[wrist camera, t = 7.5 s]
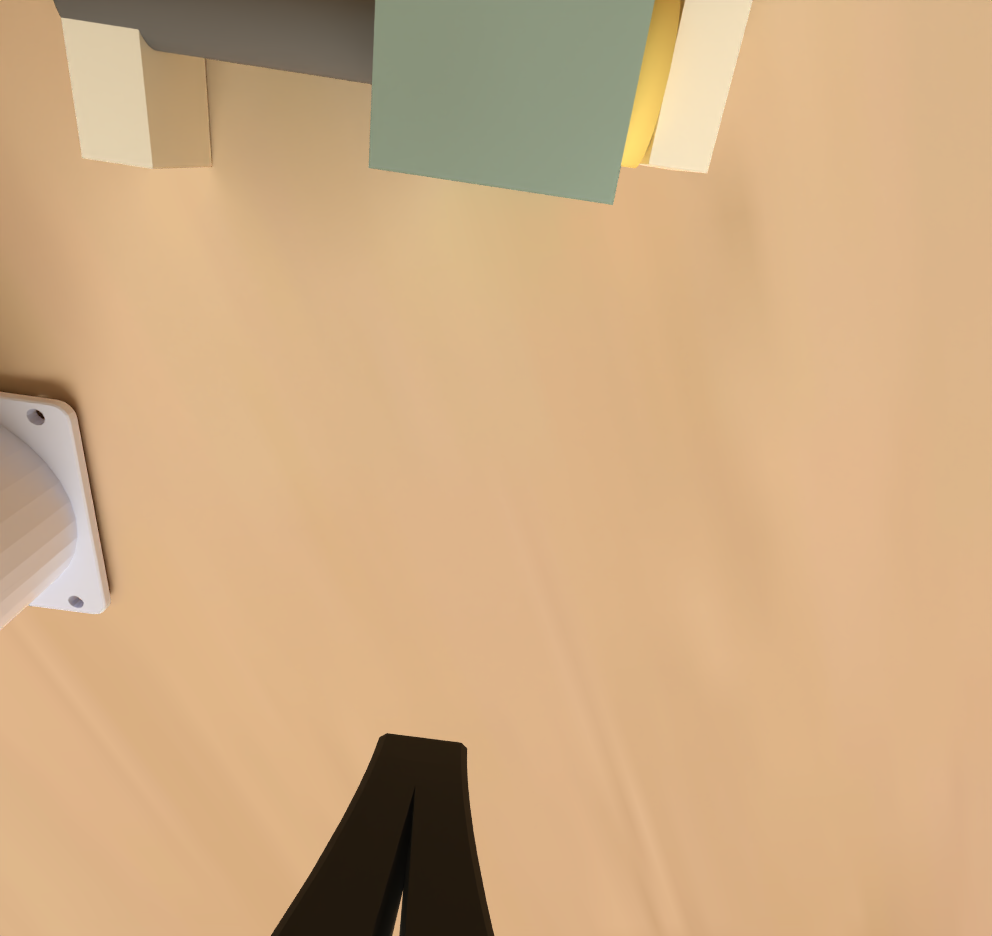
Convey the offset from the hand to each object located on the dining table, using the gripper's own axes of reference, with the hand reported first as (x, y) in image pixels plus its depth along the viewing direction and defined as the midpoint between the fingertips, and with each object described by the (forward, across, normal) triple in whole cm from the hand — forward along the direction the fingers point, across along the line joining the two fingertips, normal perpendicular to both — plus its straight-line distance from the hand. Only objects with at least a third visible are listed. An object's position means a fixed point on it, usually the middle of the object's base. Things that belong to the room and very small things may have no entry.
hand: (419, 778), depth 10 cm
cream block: (+10, -3, -11) cm, 16 cm away
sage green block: (+10, 0, -11) cm, 15 cm away
